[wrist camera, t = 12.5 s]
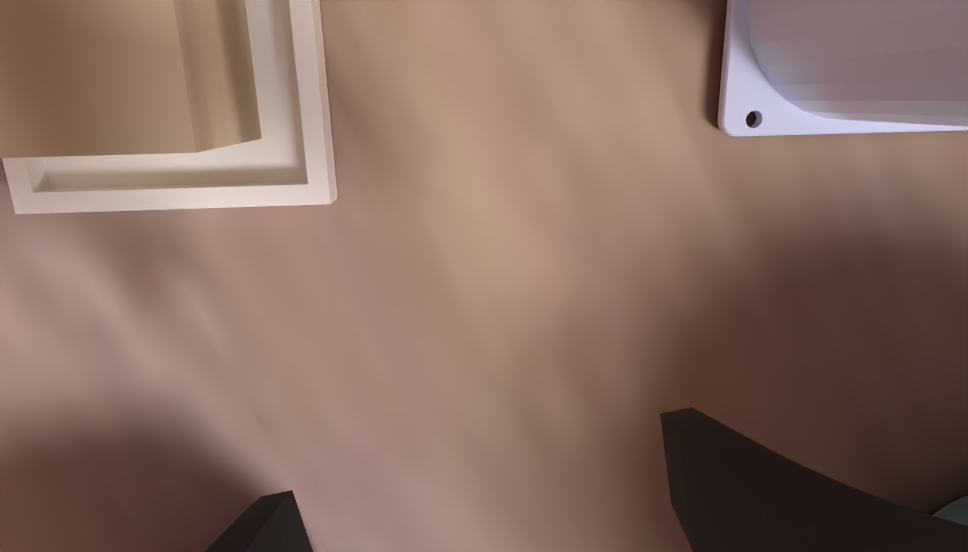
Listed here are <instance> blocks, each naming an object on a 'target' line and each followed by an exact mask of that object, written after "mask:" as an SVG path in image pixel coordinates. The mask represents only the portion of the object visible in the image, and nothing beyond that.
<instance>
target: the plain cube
mask: <svg viewBox="0 0 968 552" xmlns="http://www.w3.org/2000/svg"><path fill="white" fill-rule="evenodd" d="M258 139H262V136H261V128H260V119H259V111H258V103H257V95H256V87H255V79H254V70H253V62H252V54H251V46H250V38H249V30H248V21H247V13H246V5H245V0H0V158H25V157H61V156H98V155H134V154H170V153H198V152H202V151H207V150H212V149H216V148H221V147H226V146H230V145H235V144H240V143H244V142H249V141H254V140H258Z"/></svg>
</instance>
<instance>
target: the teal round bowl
mask: <svg viewBox="0 0 968 552" xmlns="http://www.w3.org/2000/svg"><path fill="white" fill-rule="evenodd" d="M932 516H936V517H939V518H942V519H946V520H949V521H953V522H956V523H959V524H963V525H966V526H968V496H965V497H962V498H960V499H958V500H956V501H954V502H952V503H950V504H949V505H947V506H945V507H943V508H942V509H940V510H939V511H937V512H936V513H935V514H933V515H932Z"/></svg>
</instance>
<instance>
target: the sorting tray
mask: <svg viewBox="0 0 968 552" xmlns="http://www.w3.org/2000/svg"><path fill="white" fill-rule="evenodd" d="M245 5H246V13H247V21H248V30H249V38H250V46H251V54H252V62H253V70H254V79H255V87H256V95H257V103H258V111H259V119H260V128H261V136H262V139H258V140H254V141H249V142H244V143H240V144H235V145H230V146H226V147H221V148H216V149H212V150H207V151H202V152H198V153H170V154H134V155H98V156H61V157H25V158H2V160H3V165H4V169H5V173H6V177H7V181H8V185H9V189H10V193H11V198H12V202H13V206H14V210H15V214H38V213H69V212H100V211H131V210H162V209H193V208H224V207H255V206H286V205H316V204H331V203H332V202H333V201H334V200H336V199H337V187H336V176H335V165H334V154H333V143H332V132H331V121H330V110H329V99H328V88H327V77H326V66H325V55H324V44H323V33H322V22H321V11H320V0H245Z"/></svg>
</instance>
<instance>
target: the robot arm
mask: <svg viewBox="0 0 968 552" xmlns="http://www.w3.org/2000/svg"><path fill="white" fill-rule="evenodd" d="M751 111H753V112H754V113H755V114H756V121H755V123H754V124H753V125H752V126H751V127H748V125H747V124H746V117H747V115H748V114H749V113H750V112H751ZM718 127H719V128H720V130H721V132H723V133H724V134H726V135H730V136H768V135H804V134H841V133H878V132H914V131H951V130H968V0H728V1H727V13H726V25H725V37H724V49H723V61H722V73H721V85H720V97H719V109H718ZM660 416H661V424H662V432H663V440H664V448H665V456H666V464H667V472H668V480H669V488H670V496H671V503H672V506H673V508H674V510H675V512H676V515H677V517H678V519H679V522H680V524H681V526H682V528H683V531H684V533H685V535H686V537H687V539H688V541H689V544H690V546H691V548H692V550H693V552H968V526H966V525H963V524H959V523H956V522H953V521H949V520H946V519H942V518H939V517H936V516H932V515H929V514H926V513H922V512H919V511H916V510H913V509H910V508H907V507H904V506H901V505H898V504H895V503H892V502H890V501H887V500H884V499H882V498H879V497H876V496H874V495H871V494H868V493H866V492H863V491H860V490H857V489H855V488H852V487H850V486H847V485H845V484H842V483H840V482H838V481H835V480H833V479H831V478H828V477H826V476H824V475H822V474H820V473H817V472H815V471H813V470H811V469H809V468H806V467H804V466H802V465H800V464H798V463H796V462H794V461H792V460H790V459H787V458H785V457H783V456H781V455H779V454H777V453H775V452H773V451H772V450H770V449H768V448H766V447H764V446H762V445H760V444H758V443H756V442H754V441H753V440H751V439H749V438H747V437H745V436H743V435H741V434H740V433H738V432H736V431H734V430H732V429H731V428H729V427H727V426H725V425H723V424H722V423H720V422H718V421H716V420H714V419H713V418H711V417H709V416H707V415H705V414H703V413H702V412H700V411H698V410H696V409H694V408H692V407H691V408H686V409H681V410H676V411H671V412H667V413H662V414H660ZM205 552H313V550H312V548H311V545H310V542H309V539H308V536H307V533H306V530H305V527H304V524H303V521H302V518H301V515H300V512H299V509H298V506H297V503H296V500H295V497H294V494H293V491H292V490H291V491H286V492H282V493H277V494H272V495H267V496H262V497H260V498H259V499H258V500H257V501H256V502H255V503H253V504H252V505H251V506H250V507H249V508H248V509H247V510H246V511H245V512H244V513H243V514H242V515H241V516H240V517H239V518H238V519H237V520H236V521H235V522H234V523H233V524H232V525H231V526H230V527H229V528H228V529H227V530H226V531H225V532H224V533H223V534H222V535H221V536H220V537H219V538H218V539H217V540H216V541H215V542H214V543H213V544H212V545H211V546H210V547H209V548H208V549H207V550H206V551H205Z"/></svg>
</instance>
